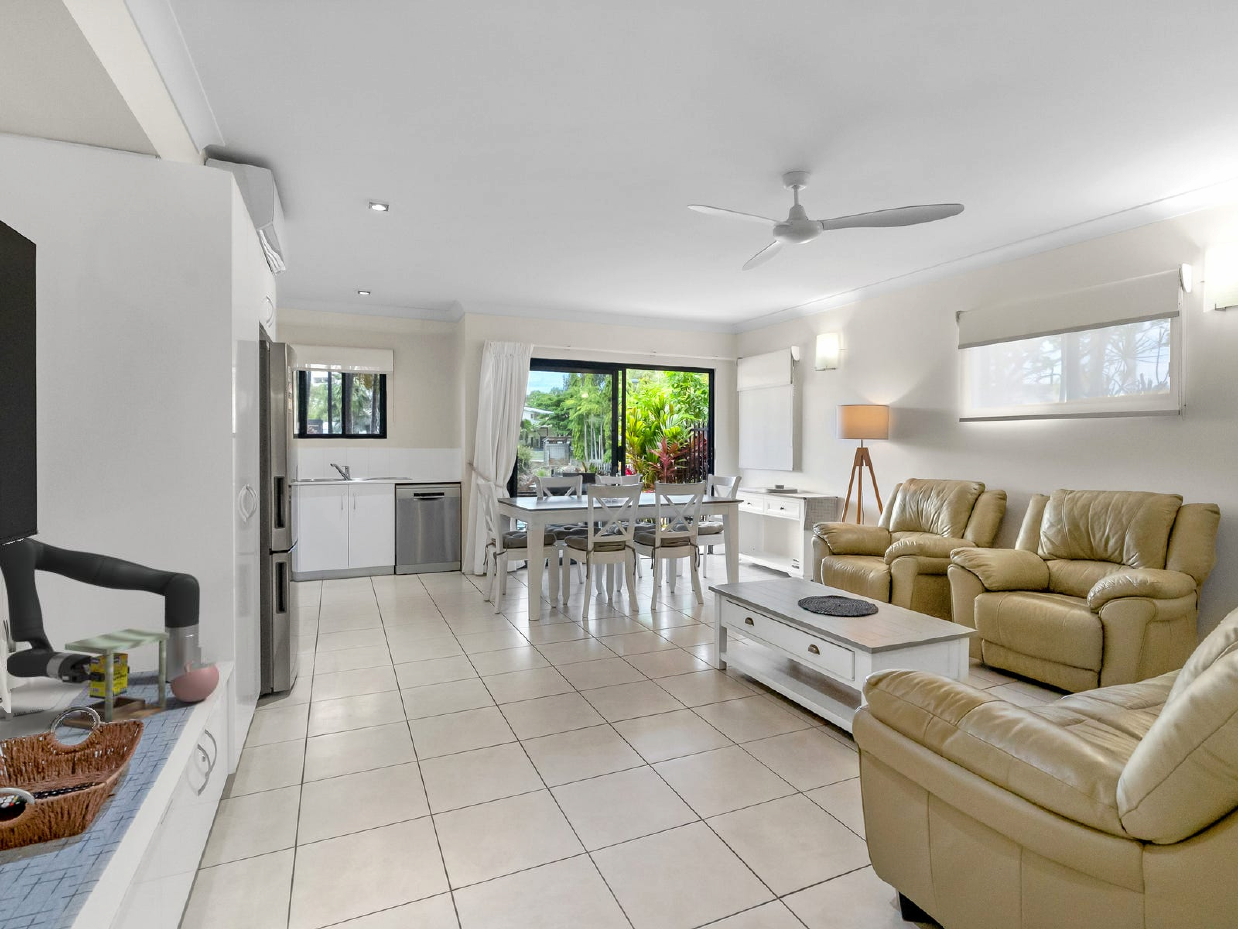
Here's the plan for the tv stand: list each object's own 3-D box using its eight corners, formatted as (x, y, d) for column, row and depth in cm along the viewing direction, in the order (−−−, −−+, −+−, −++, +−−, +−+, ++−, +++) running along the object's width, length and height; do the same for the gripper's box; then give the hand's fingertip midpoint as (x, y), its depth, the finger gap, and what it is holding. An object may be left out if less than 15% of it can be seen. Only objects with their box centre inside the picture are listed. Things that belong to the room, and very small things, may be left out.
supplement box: (106, 700, 175) (107, 659, 175) (88, 698, 176) (89, 657, 176) (127, 692, 181) (128, 653, 181) (110, 690, 182) (111, 651, 182)
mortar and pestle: (202, 691, 199) (203, 653, 199) (228, 697, 193) (228, 659, 193) (160, 704, 188) (161, 664, 188) (186, 711, 183) (187, 670, 183)
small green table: (125, 702, 188) (126, 628, 188) (168, 709, 184) (169, 633, 184) (60, 725, 172) (62, 643, 172) (105, 733, 167) (106, 649, 167)
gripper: (43, 661, 176) (88, 668, 171) (99, 647, 189) (142, 653, 185) (42, 689, 176) (87, 696, 171) (98, 673, 189) (141, 679, 185)
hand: (115, 674), depth 178 cm, fingers closed on supplement box, 6 cm apart
